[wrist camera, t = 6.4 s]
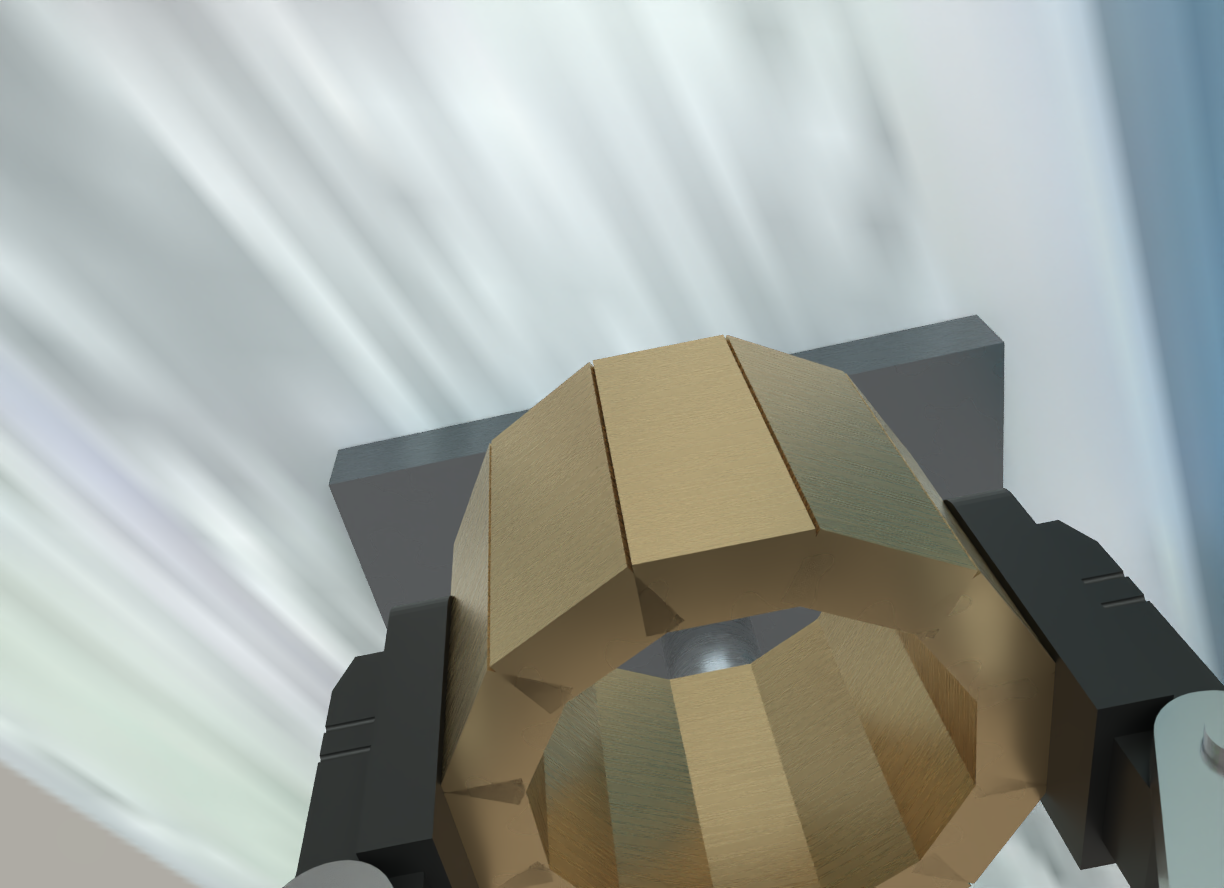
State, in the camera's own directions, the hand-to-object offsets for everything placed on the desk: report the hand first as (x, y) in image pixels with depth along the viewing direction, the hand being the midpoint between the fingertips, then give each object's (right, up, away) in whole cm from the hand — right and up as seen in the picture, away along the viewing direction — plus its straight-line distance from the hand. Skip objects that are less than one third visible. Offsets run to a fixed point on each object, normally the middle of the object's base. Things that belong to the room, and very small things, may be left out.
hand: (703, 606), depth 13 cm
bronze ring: (0, +1, +1) cm, 1 cm away
